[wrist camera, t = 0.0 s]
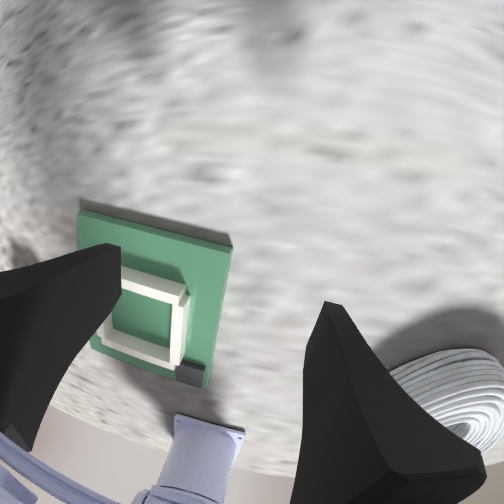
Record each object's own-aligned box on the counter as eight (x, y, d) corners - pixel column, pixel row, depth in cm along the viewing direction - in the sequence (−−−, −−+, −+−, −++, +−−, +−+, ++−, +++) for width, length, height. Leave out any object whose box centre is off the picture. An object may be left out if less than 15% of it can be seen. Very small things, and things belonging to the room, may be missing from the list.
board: (208, 381, 27) (201, 401, 25) (95, 341, 28) (83, 357, 25) (233, 247, 21) (224, 264, 19) (84, 209, 21) (64, 220, 19)
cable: (478, 425, 26) (490, 462, 21) (348, 456, 31) (349, 497, 25) (516, 320, 20) (545, 363, 14) (338, 364, 24) (341, 422, 19)
